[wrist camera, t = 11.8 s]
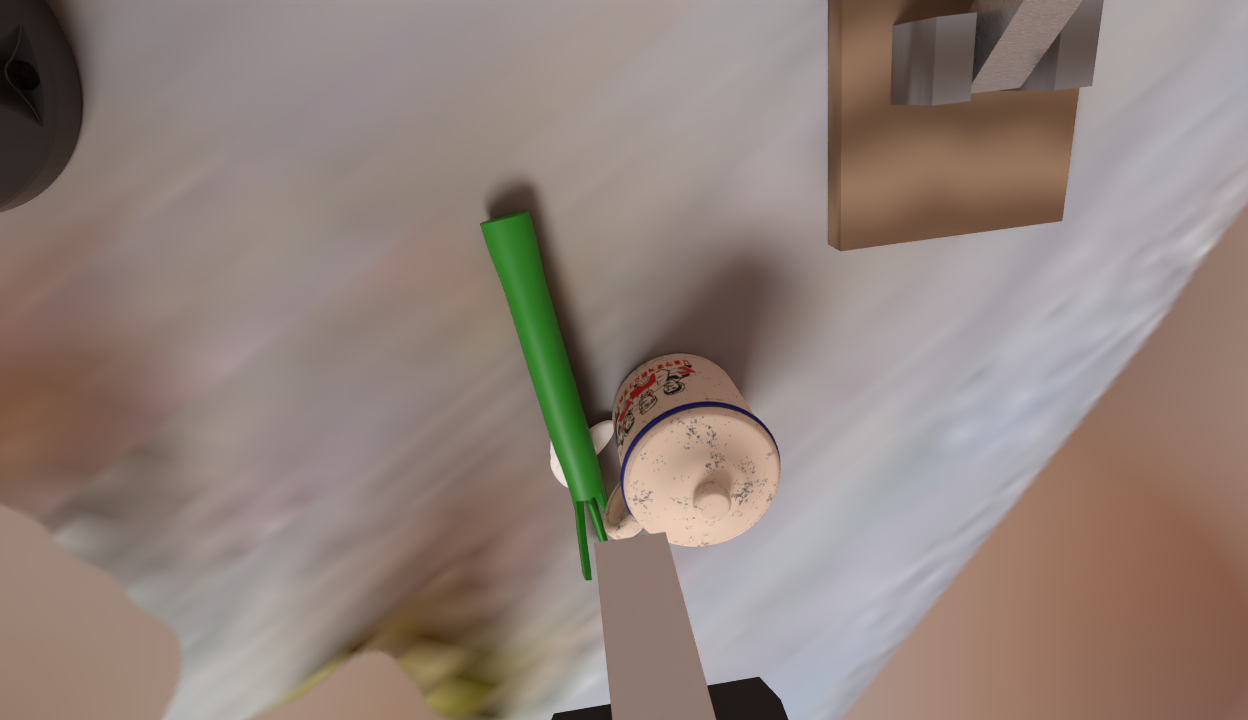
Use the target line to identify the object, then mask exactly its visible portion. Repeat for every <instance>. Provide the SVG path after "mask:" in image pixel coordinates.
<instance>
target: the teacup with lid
mask: <svg viewBox="0 0 1248 720" xmlns="http://www.w3.org/2000/svg"><path fill="white" fill-rule="evenodd" d="M612 421H613V428H614V433H615V438H616V443H617V448H618V453H619V458H620V463H621V476H620V481H619V483H618V484H617V485H616V487H615V488H614V490H613V492H612V494H611V496H610V498H609V500H608V503H607V505H606V509H605V513H604V528H605V531H606V532H607V534H608V535H609V536H611V537H612V538H614V539H615V540H616V539H623V538H629V537H633V536H635V535H636V534H637V533H639V532H640V531H641V530H642V529H643V528H644V529H645V530H647V531H648V532H649V533H651V534H655V533H661V532H666V535H667V539H668V542H669V543H673V544H677V545H682V546H694V547H698V546H708V545H714V544H718V543H721V542H724V541H727V540H729V539H732V538H734V537H736V536H738V535H740V534H741V533H743V532H745V531H746V530H747V529H749V528H750V527H751V526H752V525H754V524H755V523H756V522H757V521H758V520H759V519H760V518H761V517H762V515H763V514H764V513H765V512H766V510H767V509H768V507H769V506H770V504H771V502H772V500H773V498H774V496H775V494H776V491H777V488H778V484H779V479H780V455H779V451H778V447H777V445H776V442H775V440H774V438H773V436H772V434H771V433H770V431H769V430H768V428H767V427H766V426H765V425H764V424H763V423H762V422H761V421H760V420H759V419H758V418H757V417H755V416H754V414H753V413H752V411H751V410H750V408H749V406H748V405H747V403H746V402H745V400H744V399H743V397H742V396H741V394H740V392H739V391H738V389H737V388H736V386H735V385H734V383H733V382H732V380H731V379H730V377H729V376H728V375H727V373H726V372H725V371H724V370H723V369H722V368H720V367H719V366H718V365H717V364H715V363H713V362H712V361H710V360H708V359H706V358H703V357H700V356H697V355H692V354H682V353H679V354H668V355H664V356H660V357H657V358H654V359H652V360H650V361H648V362H646V363H644V364H643V365H641V366H640V367H638V368H637V369H636V370H634V371H633V372H632V373H631V374H630V375H629V376H628V377H627V379H626V380H625V381H624V382H623V384H622V385H621V387H620V389H619V391H618V393H617V395H616V398H615V401H614V405H613V413H612ZM626 506H627V508H628V510H629V512H630V514H629V515H628V516H626V517H625V518H624V519H623V520H622V516H623V513H624V510H625V507H626Z"/></svg>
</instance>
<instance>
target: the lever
mask: <svg viewBox="0 0 1248 720" xmlns="http://www.w3.org/2000/svg"><path fill="white" fill-rule="evenodd" d="M1081 2H1082V0H974V2H973V4H972V6H971V8H970V9H969V11H968V13H975V12H977V20H976V34H975V47H974V61H973V74H972V88H971V94H973V93H981V92H989V91H997V90H1005V89H1013V88H1020V87H1021V86H1022V84H1023V83H1024V81H1025V80H1026V79H1027V77H1028V76H1029V74H1030V73H1031V72H1032V70H1033V69H1034V68H1035V66H1036V65H1037V63H1038V62H1039V61H1040V59H1041V58H1042V56H1043V55H1044V54H1045V52H1046V51H1047V49H1048V48H1049V47H1050V45H1051V44H1052V42H1053V41H1054V40H1055V38H1056V37H1057V35H1058V34H1059V33H1060V31H1061V30H1062V28H1063V27H1064V26H1065V24H1066V23H1067V21H1068V20H1069V19H1070V17H1071V16H1072V14H1073V13H1074V12H1075V10H1076V9H1077V7H1078V6H1079V5H1080V3H1081Z"/></svg>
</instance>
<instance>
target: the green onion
mask: <svg viewBox="0 0 1248 720" xmlns="http://www.w3.org/2000/svg"><path fill="white" fill-rule="evenodd" d="M480 225H481V228H482V232H483V235H484V238H485V241H486V244H487V247H488V250H489V253H490V256H491V258H492V261H493V263H494V266H495V268H496V271H497V273H498V276H499V278H500V281H501V284H502V286H503V289H504V292H505V295H506V298H507V301H508V305H509V308H510V311H511V314H512V317H513V321H514V324H515V327H516V330H517V334H518V337H519V340H520V343H521V346H522V350H523V353H524V356H525V359H526V363H527V366H528V369H529V372H530V375H531V378H532V382H533V385H534V388H535V391H536V394H537V398H538V401H539V404H540V407H541V410H542V413H543V416H544V420H545V423H546V426H547V429H548V432H549V435H550V438H551V449H550V454H551V468H552V471H553V473H554V475H555V476H556V478H557V479H558V480H559V481H560V483H562V484H563V485H564V486H566V487H567V488H569V491H570V494H571V496H572V501H573V506H574V510H575V517H576V528H577V536H578V543H579V551H580V558H581V566H582V573H583V576H584V578H585V580H592V578H591V568H590V561H589V553H588V545H587V537H586V527H585V516H584V501H586V504H587V506H588V509H589V512H590V515H591V518H592V521H593V524H594V527H595V531H596V534H597V537H598V540H599V542H604V541H608V539H607V536H606V533H605V529H604V526H603V523H602V519H601V515H600V512H599V508H598V505H599V506H600V507H601V509H602V510H603V512H604V513H605V509H606V505H607V503H608V499H607V495H606V491H605V487H604V483H603V479H602V475H601V470H600V466H599V462H598V458H597V455H598V454H599V453H600V451H601V450H602V449H603V448H604V447H605V446H606V445H607V443H608V442H609V440H610V439H611V437H612V435H613V432H614V428H613V421H611V420H606V421H602V422H600V423H598V424H596V425H595V426H593V427H592V428H590V429H589V427H588V424H587V421H586V417H585V414H584V411H583V407H582V404H581V400H580V397H579V394H578V390H577V387H576V383H575V380H574V377H573V373H572V370H571V366H570V363H569V359H568V356H567V353H566V349H565V346H564V342H563V339H562V335H561V332H560V328H559V325H558V321H557V318H556V315H555V311H554V308H553V304H552V301H551V297H550V294H549V290H548V287H547V283H546V280H545V275H544V271H543V267H542V262H541V257H540V252H539V247H538V242H537V238H536V234H535V230H534V226H533V223H532V219H531V216H530V212H529V211H522V212H517V213H513V214H509V215H505V216H501V217H498V218H494V219H491V220H488V221H485V222H482V223H480ZM597 503H598V505H597Z"/></svg>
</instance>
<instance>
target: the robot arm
mask: <svg viewBox="0 0 1248 720" xmlns="http://www.w3.org/2000/svg"><path fill="white" fill-rule="evenodd" d="M80 120H81V94H80V85H79V79H78V74H77V70H76V66H75V62H74V59H73V56H72V53H71V50H70V47H69V45H68V43H67V40H66V38H65V35H64V33H63V31H62V29H61V27H60V25H59V23H58V22H57V20H56V18H55V16H54V14H53V13H52V11H51V9H50V8H49V6H48V5H47V3H46V2H45V0H0V212H3V211H6V210H9V209H12V208H15V207H17V206H20V205H22V204H24V203H26V202H28V201H30V200H31V199H33V198H34V197H36V196H38V195H39V194H40V193H42V192H43V191H44V190H45V189H47V188H48V187H49V186H50V185H51V184H52V183H53V182H54V181H55V179H56V178H57V177H58V176H59V175H60V173H61V172H62V170H63V169H64V167H65V166H66V164H67V162H68V161H69V159H70V157H71V154H72V152H73V150H74V147H75V144H76V141H77V137H78V132H79V127H80ZM594 545H595V555H596V564H597V574H598V584H599V594H600V603H601V613H602V623H603V632H604V642H605V652H606V662H607V671H608V681H609V691H610V700H611V704H607V705H602V706H596V707H590V708H584V709H578V710H572V711H566V712H560V713H555V714H554V715H553V717H552V720H788V717H787V715H786V712H785V710H784V707H783V704H782V702H781V700H780V698H779V697H778V696H777V695H776V694H775V693H774V692H773V691H772V690H771V689H770V688H769V687H768V686H767V685H766V683H765V682H764V681H763V680H762V679H761V678H760V677H755V678H749V679H743V680H737V681H731V682H726V683H720V684H714V685H708V686H707V684H706V680H705V677H704V673H703V669H702V665H701V662H700V658H699V654H698V651H697V647H696V643H695V639H694V636H693V632H692V628H691V624H690V621H689V617H688V613H687V610H686V606H685V602H684V598H683V595H682V591H681V587H680V583H679V580H678V576H677V572H676V569H675V565H674V561H673V557H672V554H671V550H670V546H669V543H668V539H667V535H666V532H661V533H655V534H648V535H642V536H636V537H629V538H623V539H616V540H610V541H604V542H597V543H594Z"/></svg>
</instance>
